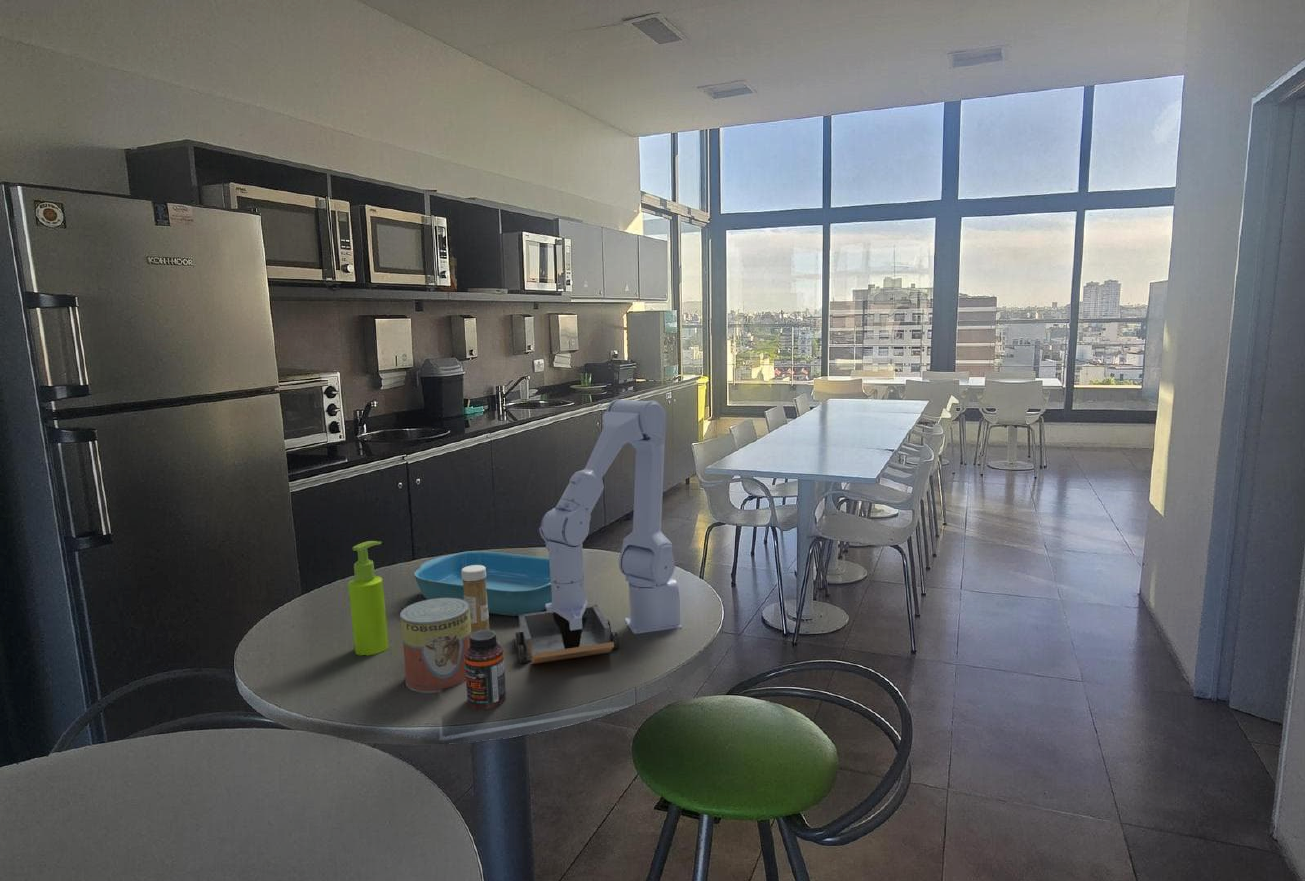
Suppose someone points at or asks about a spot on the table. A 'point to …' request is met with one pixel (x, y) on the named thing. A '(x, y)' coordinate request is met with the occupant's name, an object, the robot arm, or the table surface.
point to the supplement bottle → (485, 671)
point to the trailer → (559, 633)
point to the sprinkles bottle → (476, 596)
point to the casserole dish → (491, 580)
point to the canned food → (435, 643)
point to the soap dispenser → (367, 605)
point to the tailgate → (572, 652)
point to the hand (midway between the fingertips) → (572, 652)
